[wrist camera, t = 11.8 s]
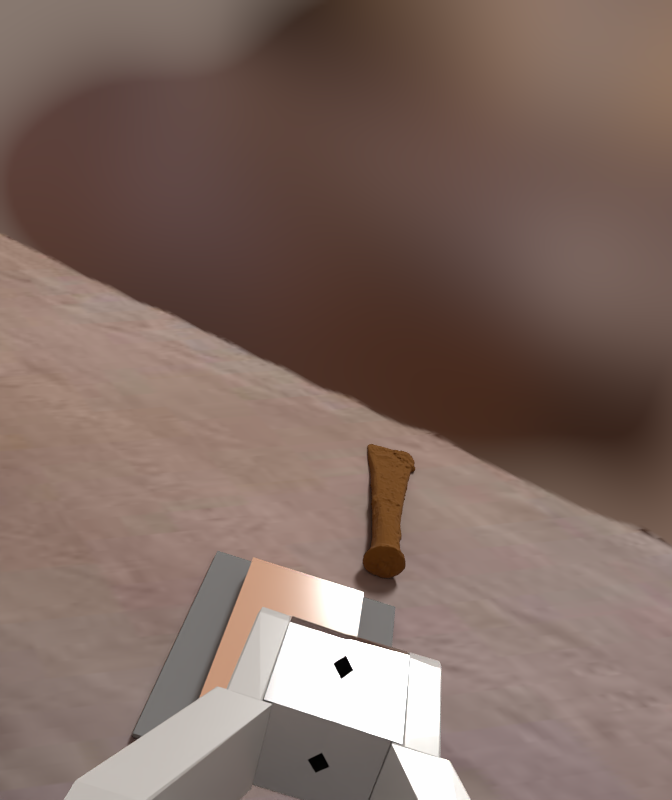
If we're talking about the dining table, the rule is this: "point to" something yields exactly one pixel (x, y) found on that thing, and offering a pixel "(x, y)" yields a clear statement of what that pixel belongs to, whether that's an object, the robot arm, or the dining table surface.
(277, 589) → the tile
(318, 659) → the robot arm
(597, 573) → the dining table surface
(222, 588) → the mat
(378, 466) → the primitive tool
